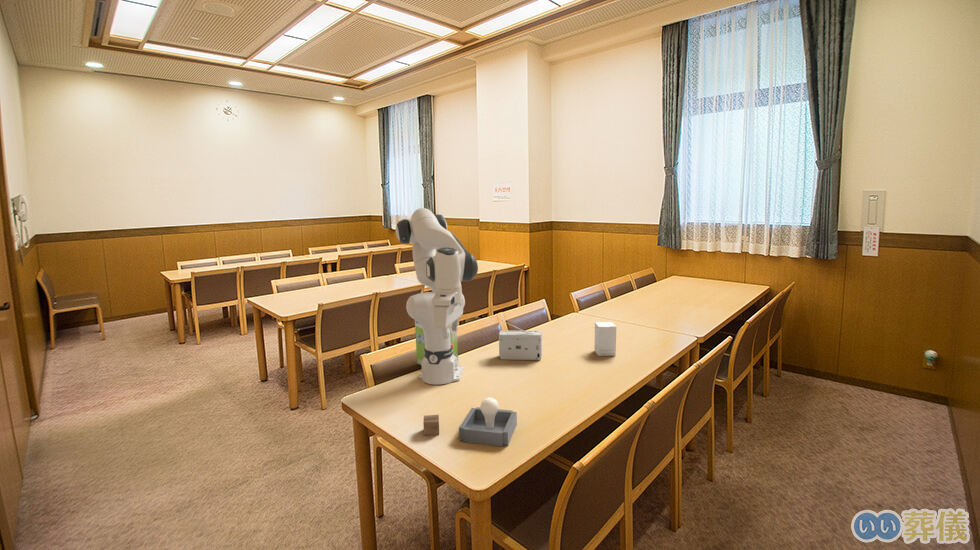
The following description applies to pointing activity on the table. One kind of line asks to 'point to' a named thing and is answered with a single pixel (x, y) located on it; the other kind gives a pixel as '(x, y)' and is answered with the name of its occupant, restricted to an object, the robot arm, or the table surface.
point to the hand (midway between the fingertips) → (450, 334)
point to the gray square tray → (478, 433)
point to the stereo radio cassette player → (520, 345)
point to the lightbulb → (489, 411)
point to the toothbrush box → (421, 342)
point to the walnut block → (431, 425)
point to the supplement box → (605, 339)
